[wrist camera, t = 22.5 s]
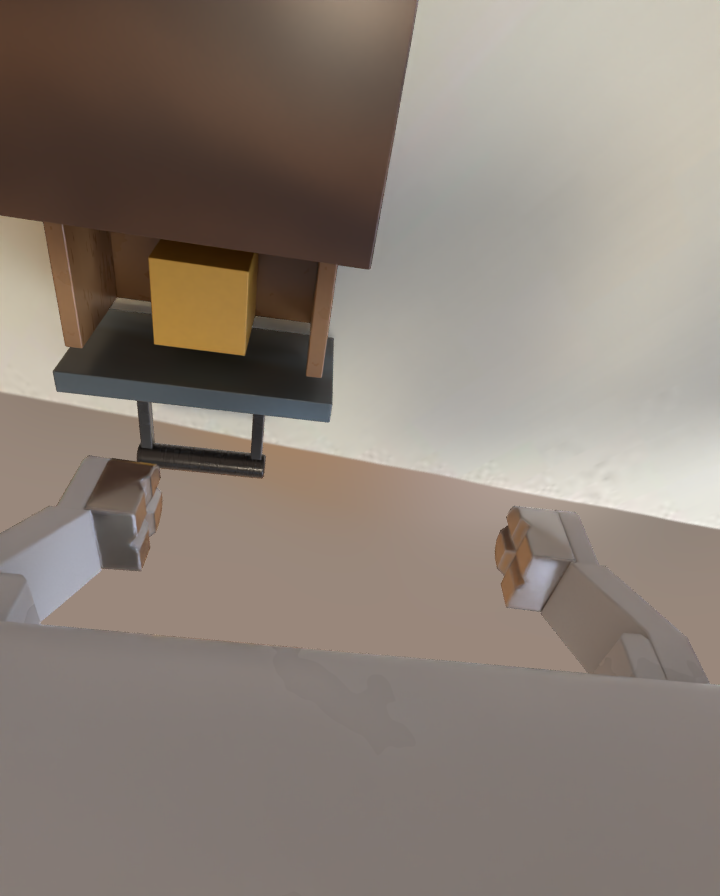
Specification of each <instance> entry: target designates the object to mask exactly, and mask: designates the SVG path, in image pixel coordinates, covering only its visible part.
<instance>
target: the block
mask: <svg viewBox="0 0 720 896" xmlns="http://www.w3.org/2000/svg"><path fill="white" fill-rule="evenodd" d="M258 254H259V253H253V252H246V251H239V250H232V249H226V248H219V247H212V246H205V245H198V244H192V243H185V242H178V241H171V240H164V239H160V240H159V242H158V243H157V245H156V246H155V248H154V249H153V251H152V252H151V254H150V255H149V257H148V263H149V278H150V293H151V307H152V322H153V337H154V344H156V345H164V346H172V347H180V348H187V349H195V350H203V351H211V352H219V353H227V354H235V355H242V356H245V354H246V350H247V346H248V342H249V338H250V334H251V330H252V326H253V322H254V318H255V310H256V291H257V273H258Z"/></svg>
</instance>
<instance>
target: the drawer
mask: <svg viewBox="0 0 720 896" xmlns="http://www.w3.org/2000/svg"><path fill="white" fill-rule="evenodd" d="M43 224H44V230H45V235H46V241H47V246H48V252H49V258H50V263H51V269H52V274H53V280H54V286H55V291H56V297H57V302H58V308H59V314H60V319H61V325H62V330H63V336H64V341H65V346H67V347H70V348H69V349H68V351H67V352H66V353H65V355H64V356H63V358H62V359H61V360H60V362H59V363H58V365H57V366H56V367H55V369H54V370H53V375H54V380H55V385H56V390H57V392H65V393H74V394H83V395H92V396H100V397H109V398H118V399H127V400H136V401H137V407H138V417H139V428H140V438H141V443H140V445H139V447H138V451H137V462H144V463H151V464H157V465H158V466H159V468H162V469H172V470H182V471H192V472H202V473H211V474H221V475H231V476H241V477H251V478H261V479H262V478H263V477H264V470H265V461H266V456H265V455H263V454H262V449H263V436H264V422H265V415H267V416H276V417H285V418H293V419H302V420H311V421H320V422H330V416H331V410H332V396H333V349H334V339H333V338H328V331H329V324H330V317H331V309H332V302H333V295H334V288H335V281H336V274H337V267H338V265H335V264H328V263H321V262H314V261H307V260H301V259H294V258H287V257H280V256H273V255H266V254H260V253H259V254H258V273H257V291H256V310H255V316H261V317H269V318H276V319H284V320H291V321H299V322H306V323H310V331H309V335H305V334H297V333H290V332H282V331H274V330H267V329H259V328H252V330H251V334H250V338H249V342H248V346H247V350H246V354H245V356H242V355H235V354H227V353H219V352H211V351H203V350H195V349H187V348H180V347H172V346H164V345H156V344H154V337H153V322H152V314H145V313H138V312H130V311H122V310H115V309H110V307H111V306H112V304H113V303H114V301H115V300H116V298H117V297H120V298H127V299H135V300H142V301H150V302H151V293H150V278H149V263H148V257H149V255H150V254H151V252H152V251H153V249H154V248H155V246H156V245H157V243H158V242H159V240H160V239H158V238H151V237H144V236H137V235H130V234H124V233H117V232H110V231H103V230H96V229H90V228H83V227H76V226H69V225H62V224H56V223H49V222H43ZM152 402H153V403H162V404H171V405H179V406H188V407H197V408H206V409H214V410H223V411H232V412H241V413H250V414H253V425H252V443H251V453H244V452H235V451H225V450H216V449H207V448H197V447H188V446H179V445H169V444H159V443H155V441H154V427H153V415H152Z"/></svg>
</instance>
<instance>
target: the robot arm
mask: <svg viewBox="0 0 720 896" xmlns="http://www.w3.org/2000/svg"><path fill="white" fill-rule="evenodd" d="M160 478H161V477H160V468H159V466H158V465H157V464H151V463H144V462H136V461H129V460H122V459H115V458H112V459H111V458H103V457H97V456H90V455H89V456H87V457H86V458H84V459H83V461H82V462H81V464H80V466H79V467H78V469H77V471H76V473H75V474H74V476H73V478H72V480H71V481H70V483H69V485H68V487H67V488H66V490H65V492H64V493H63V495H62V497H61V499H60V500H59V502H58V504H57V505H56V506H48V507H46V508H44V509H42V510H41V511H39V512H37V513H36V514H34V515H32V516H30V517H28V518H27V519H25V520H23V521H21V522H19V523H18V524H16V525H14V526H12V527H11V528H9V529H7V530H5V531H3V532H2V533H0V896H720V685H713V684H710V683H709V681H708V679H707V677H706V675H705V673H704V671H703V668H702V667H701V664H700V662H699V660H698V658H697V656H696V654H695V652H694V650H693V648H692V646H691V644H690V642H689V640H688V638H687V637H686V636H685V635H684V634H683V633H681V632H680V631H679V630H678V629H677V628H676V627H675V626H673V625H672V624H671V623H670V622H669V621H668V620H667V619H665V618H664V617H663V616H662V615H661V614H660V613H659V612H657V611H656V610H655V609H654V608H653V607H652V606H651V605H649V604H648V603H647V602H646V601H645V600H644V599H642V598H641V597H640V596H639V595H638V594H637V593H636V592H634V591H633V590H632V589H631V588H630V587H629V586H628V585H627V584H625V583H624V582H623V581H622V580H621V579H620V578H619V577H617V576H616V575H615V574H614V573H613V572H612V571H611V570H609V569H608V568H607V567H606V566H602V565H599V563H598V561H597V558H596V556H595V553H594V551H593V548H592V546H591V544H590V541H589V539H588V536H587V534H586V531H585V529H584V526H583V524H582V522H581V519H580V517H579V515H578V514H577V513H576V512H569V511H559V510H547V509H538V508H529V507H520V506H513V507H512V508H511V509H510V511H509V513H508V515H507V517H506V518H507V522H508V526H506V527H505V528H503V529H502V530H500V533H499V535H498V538H497V540H496V547H495V560H496V565H497V569H498V570H499V571H500V572H501V573H502V574H503V575H504V578H503V580H502V582H501V587H502V591H503V596H504V600H505V604H506V607H507V608H514V609H522V610H530V611H537V612H541V615H542V616H543V617H544V618H545V620H546V621H547V622H548V623H549V625H550V626H551V627H552V629H553V630H554V631H555V632H556V634H557V635H558V636H559V637H560V638H561V640H562V641H563V642H564V643H565V645H566V646H567V647H568V649H569V650H570V651H571V652H572V654H573V655H574V656H575V657H576V659H577V660H578V661H579V662H580V664H581V665H582V666H583V667H584V669H585V670H586V671H587V672H588V673H579V672H566V671H556V670H545V669H534V668H523V667H511V666H501V665H489V664H477V663H466V662H456V661H445V660H433V659H421V658H411V657H400V656H388V655H377V654H366V653H354V652H344V651H332V650H321V649H309V648H298V647H287V646H276V645H265V644H253V643H242V642H231V641H219V640H208V639H197V638H186V637H175V636H164V635H153V634H141V633H129V632H118V631H107V630H95V629H84V628H74V627H62V626H51V625H41V623H40V622H41V621H42V620H43V619H44V618H46V617H47V616H48V615H49V614H51V613H52V612H53V611H54V610H55V609H57V608H58V607H59V606H60V605H61V604H62V603H64V602H65V601H66V600H67V599H68V598H70V597H71V596H72V595H73V594H74V593H75V592H77V591H78V590H79V589H80V588H81V587H83V586H84V585H85V584H86V583H87V582H89V581H90V580H91V579H92V578H93V577H94V576H96V575H97V574H98V573H99V572H100V571H101V568H103V569H116V570H130V571H142V568H143V566H144V563H145V560H146V558H147V555H148V552H149V550H150V541H149V537H150V536H152V535H153V534H154V533H156V530H157V527H158V524H159V521H160V516H161V511H162V492H161V491H160V490H159V489H158V488H157V485H158V483H159V480H160Z"/></svg>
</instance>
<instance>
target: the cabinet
mask: <svg viewBox="0 0 720 896" xmlns="http://www.w3.org/2000/svg"><path fill="white" fill-rule="evenodd" d="M418 1H419V0H0V215H1V216H8V217H15V218H22V219H28V220H35V221H42V222H49V223H56V224H62V225H69V226H76V227H83V228H90V229H96V230H103V231H110V232H117V233H124V234H130V235H137V236H144V237H151V238H158V239H164V240H171V241H178V242H185V243H192V244H198V245H205V246H212V247H219V248H226V249H232V250H239V251H246V252H253V253H260V254H266V255H273V256H280V257H287V258H294V259H301V260H307V261H314V262H321V263H328V264H335V265H341V266H348V267H355V268H362V269H370V268H371V264H372V258H373V252H374V247H375V241H376V236H377V230H378V224H379V219H380V213H381V208H382V202H383V196H384V191H385V185H386V180H387V174H388V168H389V163H390V157H391V152H392V146H393V140H394V135H395V129H396V124H397V118H398V112H399V107H400V101H401V96H402V90H403V85H404V79H405V73H406V68H407V62H408V57H409V51H410V45H411V40H412V34H413V29H414V23H415V17H416V12H417V6H418Z"/></svg>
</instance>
